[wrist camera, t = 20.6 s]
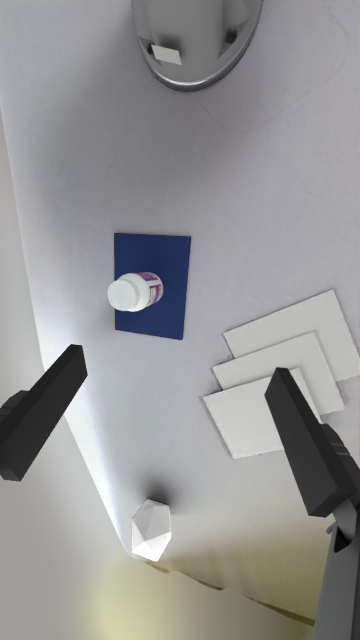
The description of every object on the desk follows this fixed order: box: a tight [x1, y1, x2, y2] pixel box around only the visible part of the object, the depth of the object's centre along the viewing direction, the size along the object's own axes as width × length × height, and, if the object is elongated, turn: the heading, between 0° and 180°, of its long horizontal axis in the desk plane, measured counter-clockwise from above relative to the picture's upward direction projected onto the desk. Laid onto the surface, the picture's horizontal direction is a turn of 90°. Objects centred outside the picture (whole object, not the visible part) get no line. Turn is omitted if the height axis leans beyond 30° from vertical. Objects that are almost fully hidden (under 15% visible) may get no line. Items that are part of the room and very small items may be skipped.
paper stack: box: [202, 289, 360, 459], centre depth 33 cm, size 23×25×1 cm
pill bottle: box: [108, 272, 163, 312], centre depth 30 cm, size 5×5×10 cm
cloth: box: [114, 233, 191, 340], centre depth 35 cm, size 17×13×1 cm
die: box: [132, 499, 171, 562], centre depth 44 cm, size 8×9×10 cm
